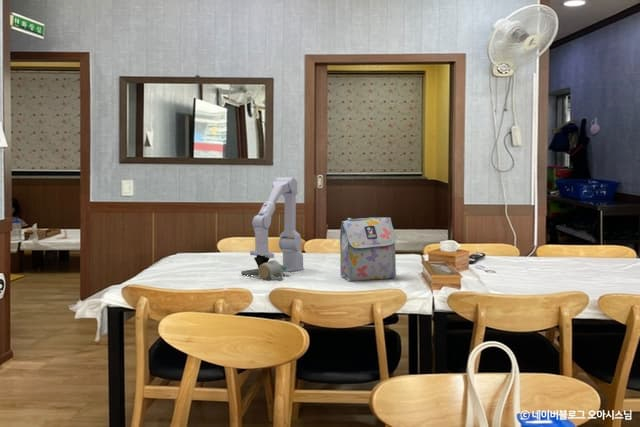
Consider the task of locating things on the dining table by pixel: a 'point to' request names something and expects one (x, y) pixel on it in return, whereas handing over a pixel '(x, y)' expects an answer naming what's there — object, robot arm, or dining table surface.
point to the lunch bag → (367, 249)
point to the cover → (284, 268)
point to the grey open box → (250, 272)
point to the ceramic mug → (270, 270)
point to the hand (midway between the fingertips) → (262, 272)
